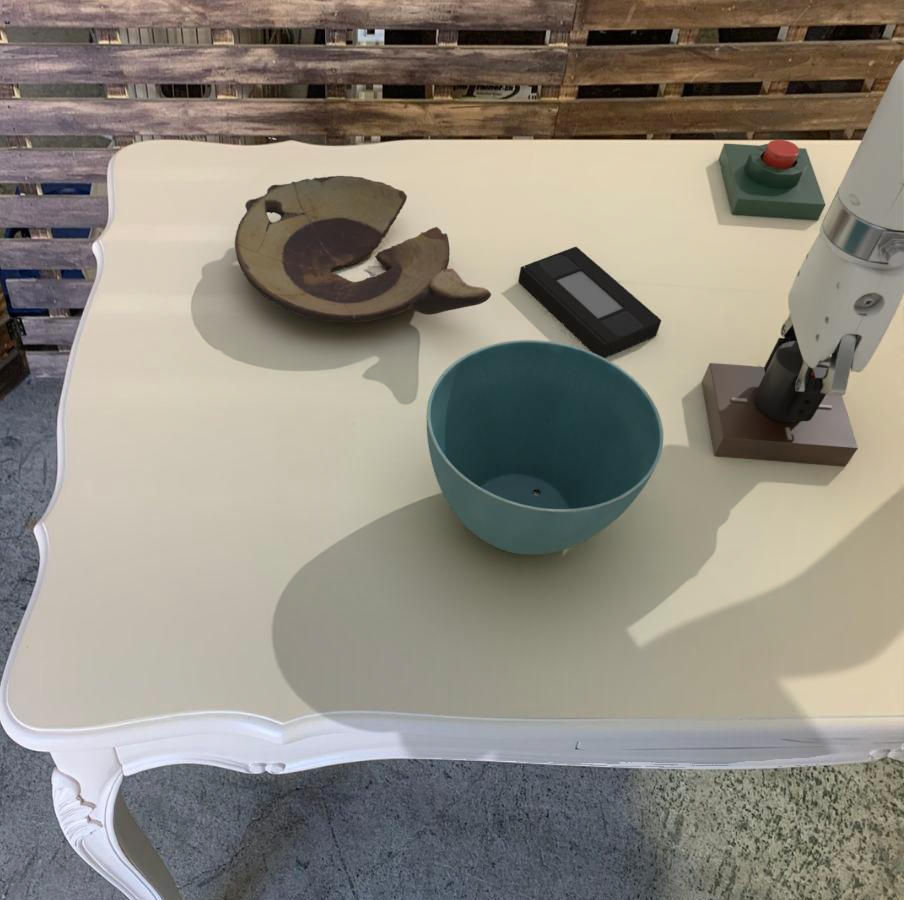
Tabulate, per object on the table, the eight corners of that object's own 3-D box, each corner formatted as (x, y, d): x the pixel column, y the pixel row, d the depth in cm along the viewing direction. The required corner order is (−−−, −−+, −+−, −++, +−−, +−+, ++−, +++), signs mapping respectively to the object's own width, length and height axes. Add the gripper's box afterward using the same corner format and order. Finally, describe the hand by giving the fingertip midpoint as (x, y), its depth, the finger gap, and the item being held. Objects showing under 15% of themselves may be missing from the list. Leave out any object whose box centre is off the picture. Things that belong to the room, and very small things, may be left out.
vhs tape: (572, 261, 101) (576, 246, 99) (657, 336, 94) (662, 320, 92) (518, 282, 99) (520, 266, 97) (600, 360, 91) (604, 345, 90)
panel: (824, 390, 89) (835, 370, 87) (846, 466, 83) (859, 447, 81) (701, 381, 90) (710, 361, 87) (714, 456, 84) (723, 436, 82)
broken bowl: (376, 192, 108) (377, 132, 102) (517, 340, 93) (529, 279, 87) (204, 246, 102) (194, 184, 96) (325, 414, 86) (323, 354, 80)
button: (790, 154, 108) (796, 140, 106) (795, 171, 106) (801, 157, 104) (759, 152, 108) (765, 138, 106) (764, 169, 106) (770, 155, 104)
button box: (799, 164, 113) (812, 134, 110) (817, 221, 106) (832, 190, 103) (718, 159, 113) (729, 129, 110) (731, 215, 106) (743, 184, 103)
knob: (749, 383, 86) (772, 336, 81) (802, 386, 86) (828, 339, 81) (759, 421, 83) (783, 374, 78) (814, 424, 83) (841, 378, 78)
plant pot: (564, 419, 86) (591, 318, 76) (664, 566, 76) (711, 471, 66) (387, 468, 82) (392, 368, 73) (469, 629, 72) (487, 539, 62)
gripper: (961, 299, 64) (846, 467, 78) (900, 165, 74) (809, 337, 88) (852, 291, 64) (759, 460, 79) (807, 159, 74) (731, 331, 89)
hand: (786, 393), depth 83 cm, fingers closed on knob, 5 cm apart
